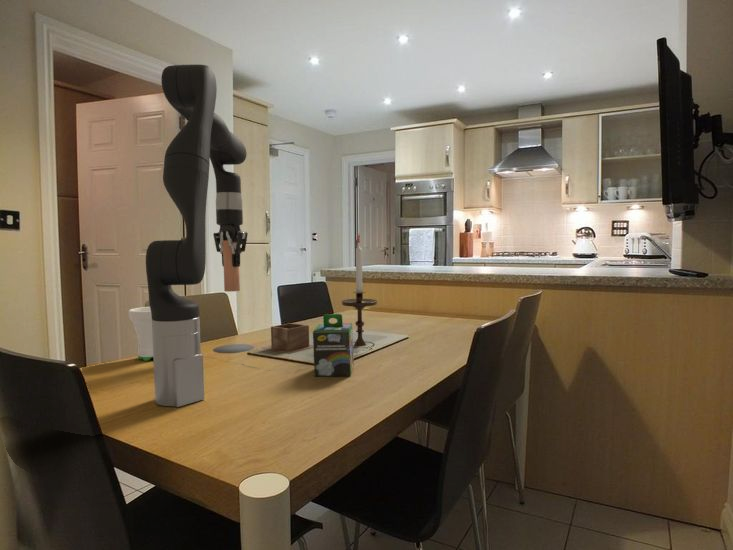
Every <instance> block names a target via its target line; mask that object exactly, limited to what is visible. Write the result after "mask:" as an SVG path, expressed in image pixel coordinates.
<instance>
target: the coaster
mask: <svg viewBox="0 0 733 550" xmlns="http://www.w3.org/2000/svg"><path fill="white" fill-rule="evenodd" d="M254 348H255V346H254V345H252V344H248V343H247V344H246V343H244V344H243V343H236V344H235V343H234V344H226V345H225V344H224V345H221V346H217V347H214V348H213V349H212V351H213V352H214V353H219V354H239V353H244V352H248V351H252V350H254Z"/></svg>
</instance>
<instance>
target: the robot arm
mask: <svg viewBox="0 0 733 550" xmlns="http://www.w3.org/2000/svg"><path fill="white" fill-rule="evenodd" d="M160 80H161V88H162V92H163V94H164V97H165V99H166V100H167V102H168V103H169V104H170V106H171V107H172V108H173V109H174V110H175V111H176V112H177V113H179V114H180V115H181V116H182V117H183V118H184V119H185V120H186V121H187V122H186V123H185V124H184V126H183V127H182V128H181V129H180V131H179V132H178V133H177V134H176V135H175V136H174V138H173V139H172V141H171V142H170V143H169V145H168V146H167V148H166V150H165V153H164V158H163V159H164V160H163V161H164V162H163V171H162V183H163V185H164V188H165V190H166V192H167V193H168V195H169V197H170V199H171V200H172V202H173V203H174V204H175V206H176V208H177V209H178V211H179V213H180V215H181V218H182V219H183V221H184V225H185V230H186V233H185V234H186V235H185V236H186V237H185V239H169V240H167V239H166V240H165V239H164V240H153V241H151V242H150V243H149V245H148V246H147V249H146V254H145V271H146V272H145V273H146V280H147V281H146V283H147V290H148V291H147V292H148V303H149V307H150V309H151V316H152V340H153V357H152V358H153V379H154V380H153V381H154V382H153V383H154V398H155V399H154V400H155V404H156V405H158V406H161V407H163V406H164V407H175V408H179V407H183V406H187V405H190V404H192V403H196V402H199V401H204V400H205V380H204V379H205V377H204V374H205V373H204V359H203V358H204V356H203V354H202V350H201V347H202V345H201V326H200V325H201V322H200V321H201V320H200V306H199V304H198V303H197V302H196V301H194V300H191V299H186V298H185V297H183V296H181V295H179V294H177V293H176V292H175V291H174V290H173V288H172V286H189V285H190V286H191V285H198V284H200V283H201V282H202V281H203V279H204V276H205V271H206V262H207V261H206V260H207V259H206V255H207V254H206V250H207V249H206V248H207V245H206V242H207V240H206V212H207V198H208V190H209V189H208V187H209V180H210V179H209V177H210V162H211V165H212V168H213V173H214V176H215V191H216V193H215V195H216V196H215V218H216V219H215V220H216V225H218V226H219V231H218V232H214V233H213V234H212V235H213V239H214V245H215V249H216V252H217V253H220V254H221V265H222V267H223V268H224V263H223V241H226V240H228V243H229V246H230V247H231V250H232V253H233V254H232V266H233V267H239V268H240V267H241V254H242V253H243V252H246V248H247V247H246V246H247V241H248V232H247V231H242V229H241V226H242V225H243V224H244V223H243V222H244V218H243V217H244V216H243V199H242V186H241V184H242V183H241V182H242V181H241V180H242V179H241V175H239V173H236V172H231V171H227V170H225V167H224V165H225V166H228V165H229V166H231V165H241V164H242V163H244V162H245V160H247V148H246V146H245V145H244V143H243V141H242V140H241V139H240V138H239V136H236V135H235V134H234V133H233V132H232V131H230V129H229V127H228V125H227V124H226V122H225V121H224V120H223V119H222V117H221V116H219V115H218V114H217V113H216V112H215V110H216V109H215V108H216V103H217V102H216V100H217V87H218V86H217V80H216V75H215V72H214V71H213V69H212V68H211V67H210V66H208V65H206V64H174V65H173V64H172V65H168V66H166V67H164V68H163V70H162V73H161V79H160ZM233 242H237V243H233ZM235 246H236V249H235Z"/></svg>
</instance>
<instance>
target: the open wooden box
mask: <svg viewBox="0 0 733 550" xmlns="http://www.w3.org/2000/svg"><path fill="white" fill-rule="evenodd" d="M270 338H271V339H270V341H271V342H270V343H271V346H267V347H262V348H261V349H263V350H268V351H271V352H273V351H274V352H278V353H282V354H286V355H287V354H288V355H290V354H291V355H292V354H294V353H295V354H296V353H298V352H303V351H305V350H306V351H307V350H311V349H313V344H310V325H307V324H301V323H293V322H288V323H284V324H278V325H273V326H270Z"/></svg>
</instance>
